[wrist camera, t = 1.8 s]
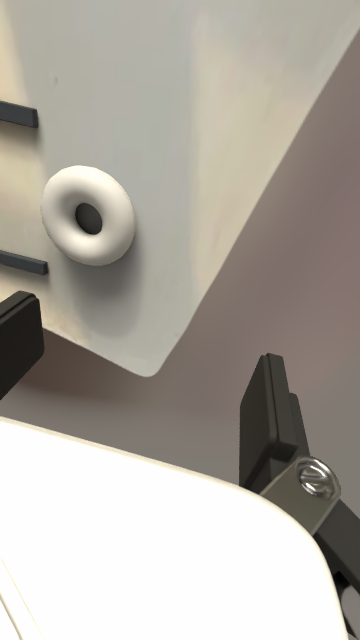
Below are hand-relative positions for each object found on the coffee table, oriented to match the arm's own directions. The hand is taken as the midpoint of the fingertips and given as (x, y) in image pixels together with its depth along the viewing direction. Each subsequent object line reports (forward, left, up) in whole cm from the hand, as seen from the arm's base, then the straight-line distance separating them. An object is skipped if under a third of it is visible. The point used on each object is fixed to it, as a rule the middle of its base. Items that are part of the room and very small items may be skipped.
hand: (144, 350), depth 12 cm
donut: (-12, -2, -22) cm, 25 cm away
